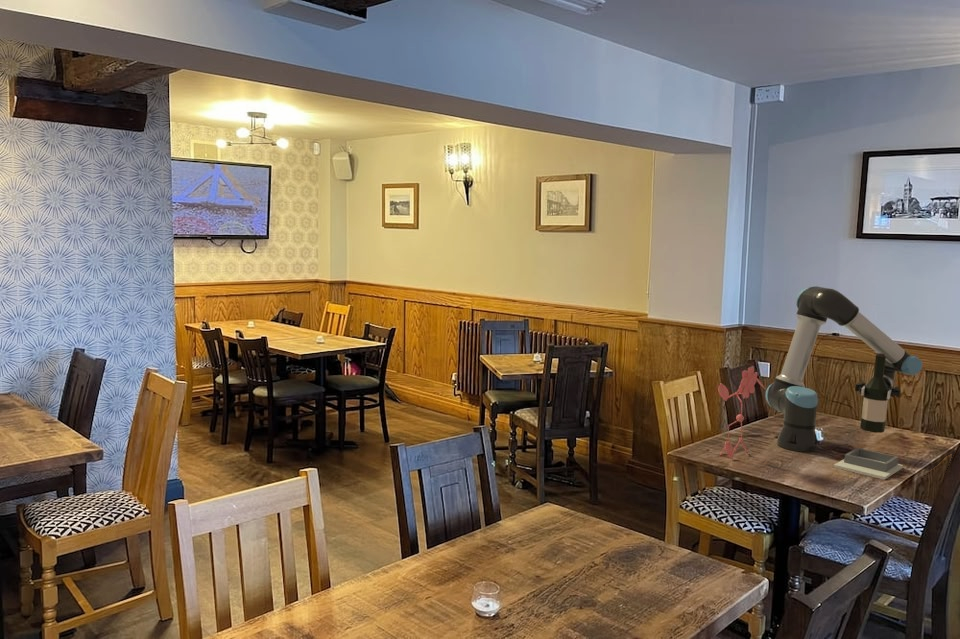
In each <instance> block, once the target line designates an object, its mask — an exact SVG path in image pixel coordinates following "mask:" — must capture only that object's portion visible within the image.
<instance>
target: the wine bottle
mask: <svg viewBox="0 0 960 639" xmlns="http://www.w3.org/2000/svg"><path fill="white" fill-rule="evenodd" d="M885 360H886V356H885V354H881V353H878V354H877V355H876V354H875V360H874V369H873V375H872V376H873V377H872V378H871V379H870V380H869V382H867V383H866V384H867V385H866V386H865V392H864V395H863V403H862V412H861V419H860V427H859V428H860V430H863V431H864V432H870V433H880V434H882V433H885V429H886V420H887V411H888V403H889V399H887V394H888V391H889V388H888V386H887V384H886V382H885V380H884V378H883V377H884V368H885Z"/></svg>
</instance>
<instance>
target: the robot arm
mask: <svg viewBox="0 0 960 639" xmlns="http://www.w3.org/2000/svg"><path fill="white" fill-rule="evenodd" d="M795 304H796V307H797V311H796V314H795V315H796V317H797V319H798V321H797V324H796V326H795V330H794V333H793V336H792V338H791V342H790V345H789V348H788V351H787V355H786V357H785V361H784V364H783V367H782V370H781V372H780V374H779V375H777V376H776V377H775V379H774V382H772V383H771V384H770V385H768V387H767V388H766V391H765V401H766V403H767V404H768V405H769V407H771V408H772V409H773V410H775V411H776V412H779V413H780V414H783V424H782V427H781V430H780V432H779V434H778V437H777V439H776V444H777V446H779V447H780V448H783V449H786V450H790V451H795V452H802V453H804V452H805V453H809V452H810V453H811V452H816V451H818V450H819V441H818V437H817V432H816V421H817V413H818V412H817V411H818V404H819V399H818V396H819V395H818V393H817V392H816V391H815V390H813V389H811V388H807V387H805V386H806V385H805V384H804V382H803V380H804V377H805V374H806V371H807V369H808V368H807V367H808V365H809V362H810V359H811V356H812V352H813V350H814V348H815V344H816V341H817V338H818V334H819V331H820V329H821V326H823V325H825V324H826V323H827V320H828V319H829V320H831V321H834V323H836V324H838V326H840V327H845V328H846V329H848V330H849V331H850V332H851V333H852V334H853V335H854V336H856V337H857V338H858V339H860V340H861V341H862V342H864V344H866V345H867V346H868V347H869V348H871V349H872V350H873V351H874V352H875V356H876V355H877V354H878V353H881V354H885V356H886V360H885V368H884V377H883V378H884V380H885V382H886V384H887V386H888V388H889V391H888V394H887V399H888V400H890V399H891V398H895V397H896V398H901V390H900V386H895V383H896V380H895V376H896V372H898V373H901V374H904V375H907V376H909V375H910V376H915V375H917V374H919V373H920V372H921V371H922V369H923V362H922V360H921V359H920V357H917V356H915V355H912V354H910V353H908V352H907V350H905V349H904V348H903V347H902V346H900V345H899V344H898V343H897V342H896V341H895V340H893V339H892V338H891V337H889V336H888V335H887V334H886V333H885V332H884V331H882V330H881V329H880V327H878V326H877V325H875V324H874V323H873V322H872V321H871V320H870V319H868V318H867V317H866V316H865V315H863V314H862V313H861V312H860V308H859V307H858V306H857V305H856V304H854V303H853V302H852V301H851V300H850V299H849V298H848V297H846V295H844V294H842V293H841V292H840V291H838V290H836V289H834V288H827V287H823V286H822V287H821V286H817V285H816V286H807V287H805V288H803V289H801V291H799V293H798V294H797V296H796V299H795ZM867 384H868V383H866V382H865V381H861V382H859V383H857V384H855V389H854V391H855V392H859V395H860V396H863V397H864V392H865V386H866V385H867Z"/></svg>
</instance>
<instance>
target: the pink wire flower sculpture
mask: <svg viewBox="0 0 960 639" xmlns="http://www.w3.org/2000/svg"><path fill="white" fill-rule="evenodd" d="M758 375H759V374H758V371H756V372H755V367H754V365H751V366H750V367H748V368H747V370H746V369H745V370H743V371H741V377H742V379H741V381H740V384H739V386H738V389H737V391H735V392H734V393H732V394H730V391H729V390H728V388H727V386H726V385H724V384H723V383H722V382H721V383H719V385H718V389H717V390H718V394H719V397H721V398H722V399H723V401H725V402H727V401H728V399H730V398H731V397H734V396H736V397H737V399H738V401H739V402H740V414H737V415H736V417H735V418H736V420H735V421H734V422H732V423H730V424H728V425H727V440H726V441H725V442H724V447H723V449H722V451H721V452H720V454H719V456H722V454H724V452H725V451H726V454H727V456H728V457H729V458H730V459H731V460H733V458H734V455H735V453H734V452H735V451H736V449H737V448H738V446H739V445H740V444H741V446H742V447H743V449H744V450H745V452H746V453H747V454H749V451H748V449H747V447H746V445H745V444H744V442H743V421H744V420H745V417H744V415H743V403H744V402H743V401H742V399H743V400H744V399H748V398H749V397H750V394H754V393H755V391H756V388H755V385H756V383H758V384H759V385H760V387H762V388H763V389H764V390H767V388H766V387H765V385H764V384H763V383H762V381H761V380H760V379H759V378H758ZM739 395H742V399H741V398H740V396H739ZM737 422H740V436H741V437H739V438H738V439H739V441H738V442H737V444H736V445H735V446H734V447H733V446H732V444H731V442H730V426H733V425H734V424H735V423H737ZM709 457H710V458H712V456H711V455H709Z"/></svg>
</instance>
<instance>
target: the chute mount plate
mask: <svg viewBox="0 0 960 639" xmlns="http://www.w3.org/2000/svg"><path fill="white" fill-rule="evenodd" d="M903 467H904V464H900V463H899V456H896V455H892V454H888V453H883V452H879V451H874V450H869V449H866V448H862V447H861V448H860V447H856V448H854V449H852V450H851V451H849V452H847V453H845V454H844V459H842V460H840V461H838V462H836V463H834V464H833V468H835V469H838V470H839V469H840V470H844V471H847V472H852V473H856V474H860V475H864V476H867V477H873V478H876V479H880V480H884V481H885V480H886V479H888V478H889V477H891V476H892V475H894V474H895V473H897V472H899V471H900V470H902V469H903Z"/></svg>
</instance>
